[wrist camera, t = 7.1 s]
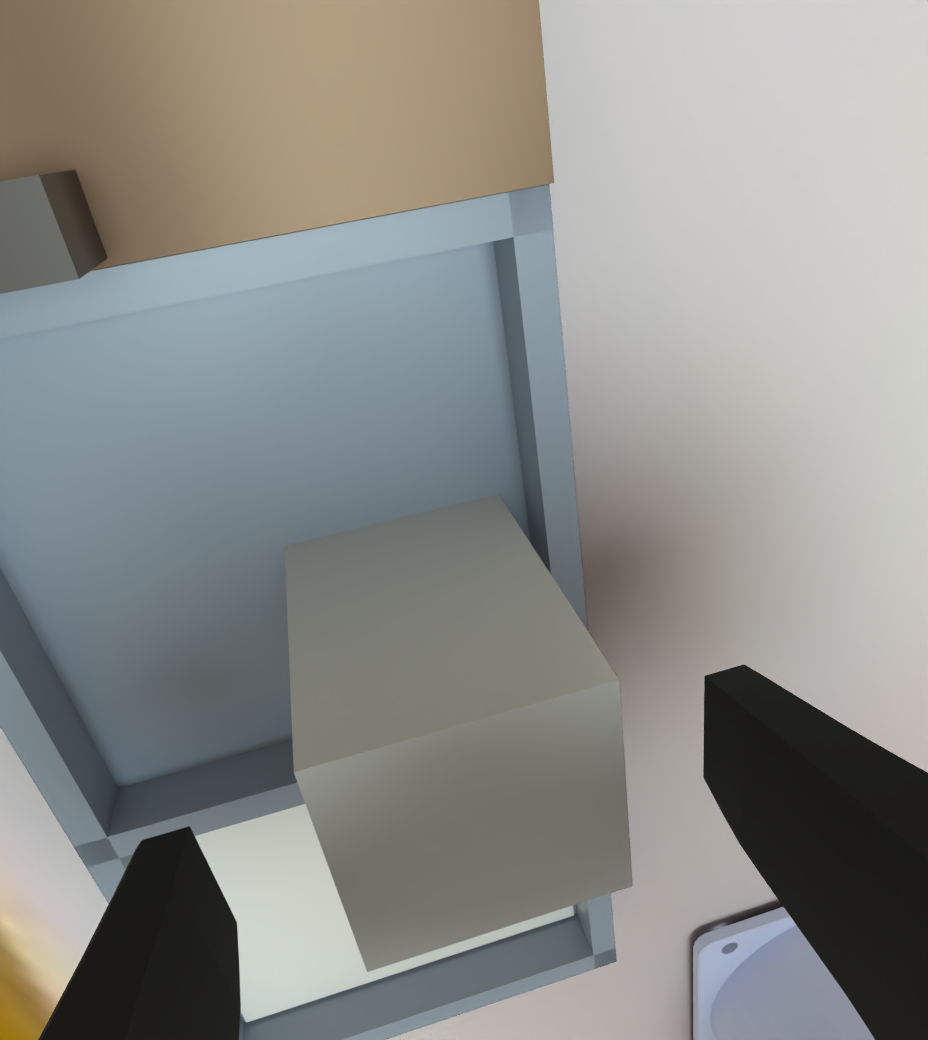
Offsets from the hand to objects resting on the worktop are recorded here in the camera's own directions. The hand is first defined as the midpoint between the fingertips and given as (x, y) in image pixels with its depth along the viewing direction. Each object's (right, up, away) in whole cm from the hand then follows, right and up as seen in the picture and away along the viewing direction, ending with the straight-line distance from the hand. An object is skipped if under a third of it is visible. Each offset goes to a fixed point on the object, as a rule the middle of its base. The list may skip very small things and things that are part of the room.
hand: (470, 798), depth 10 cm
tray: (-3, 0, +5) cm, 6 cm away
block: (-1, +2, +4) cm, 5 cm away
